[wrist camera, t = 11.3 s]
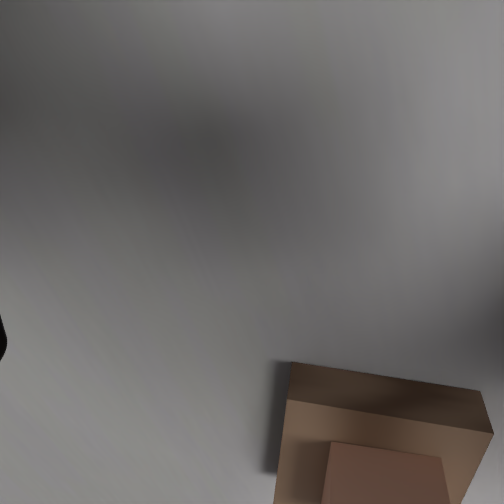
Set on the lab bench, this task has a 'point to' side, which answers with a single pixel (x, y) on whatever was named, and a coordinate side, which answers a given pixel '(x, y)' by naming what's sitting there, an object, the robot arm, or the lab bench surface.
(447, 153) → the lab bench surface
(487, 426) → the walnut block
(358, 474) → the terracotta cube
